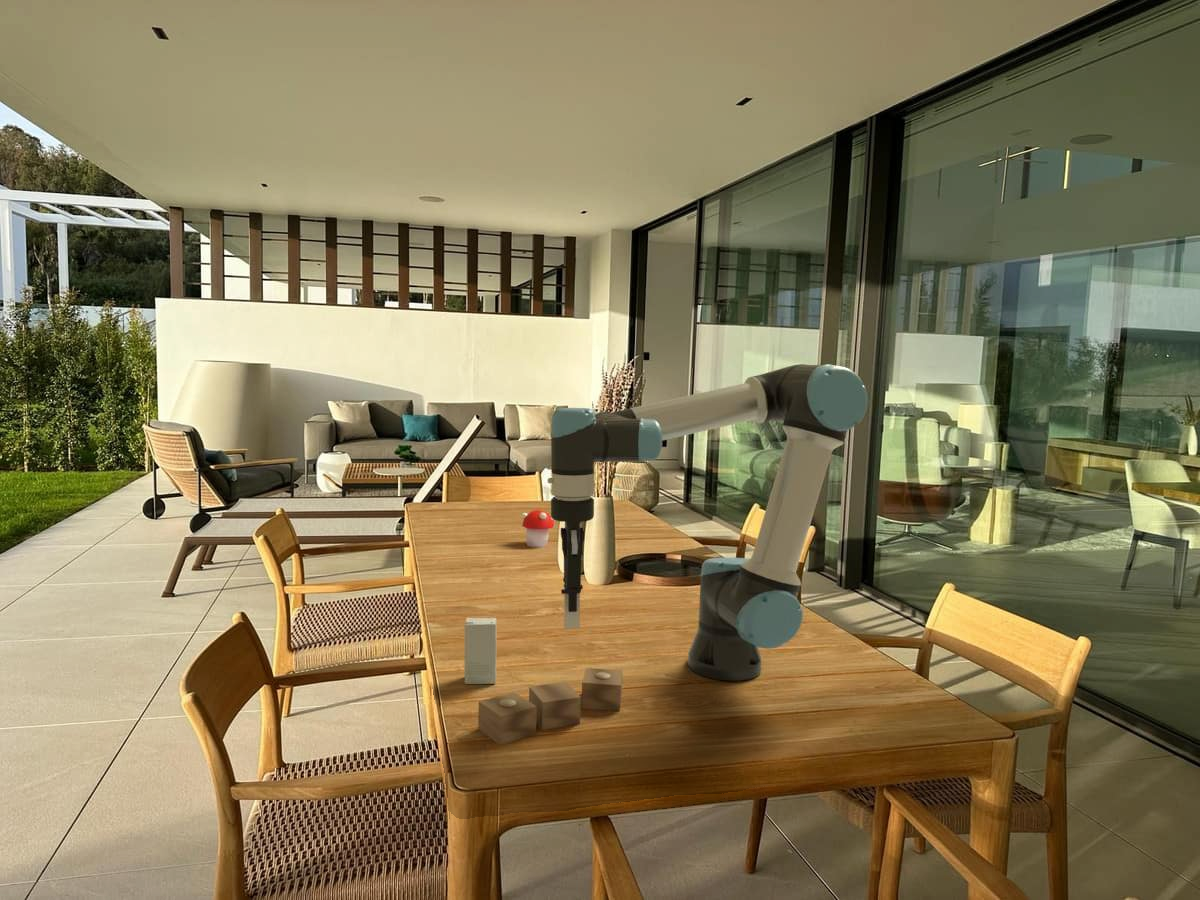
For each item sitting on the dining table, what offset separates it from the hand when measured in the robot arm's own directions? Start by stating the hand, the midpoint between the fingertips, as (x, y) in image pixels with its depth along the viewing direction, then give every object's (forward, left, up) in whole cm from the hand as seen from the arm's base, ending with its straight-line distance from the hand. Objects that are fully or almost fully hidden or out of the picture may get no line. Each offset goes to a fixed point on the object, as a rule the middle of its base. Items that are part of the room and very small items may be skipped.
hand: (571, 627), depth 142 cm
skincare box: (+17, -12, -15) cm, 26 cm away
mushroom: (+6, -126, -15) cm, 127 cm away
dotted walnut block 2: (-6, -3, -15) cm, 17 cm away
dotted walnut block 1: (+11, +9, -15) cm, 21 cm away
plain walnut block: (+3, +4, -15) cm, 16 cm away
